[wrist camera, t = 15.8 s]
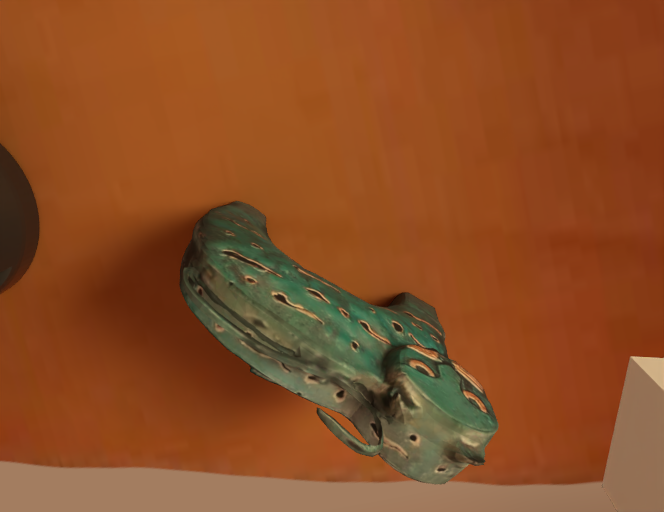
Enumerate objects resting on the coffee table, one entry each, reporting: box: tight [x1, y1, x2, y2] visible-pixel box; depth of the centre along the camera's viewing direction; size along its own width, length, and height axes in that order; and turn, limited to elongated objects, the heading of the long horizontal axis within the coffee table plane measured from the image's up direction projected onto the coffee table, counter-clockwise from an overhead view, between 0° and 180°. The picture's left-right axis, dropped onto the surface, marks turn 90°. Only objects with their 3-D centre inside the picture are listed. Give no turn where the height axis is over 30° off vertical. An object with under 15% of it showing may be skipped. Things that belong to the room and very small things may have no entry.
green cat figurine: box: [180, 201, 498, 484], centre depth 34 cm, size 20×6×20 cm, turn 59°
